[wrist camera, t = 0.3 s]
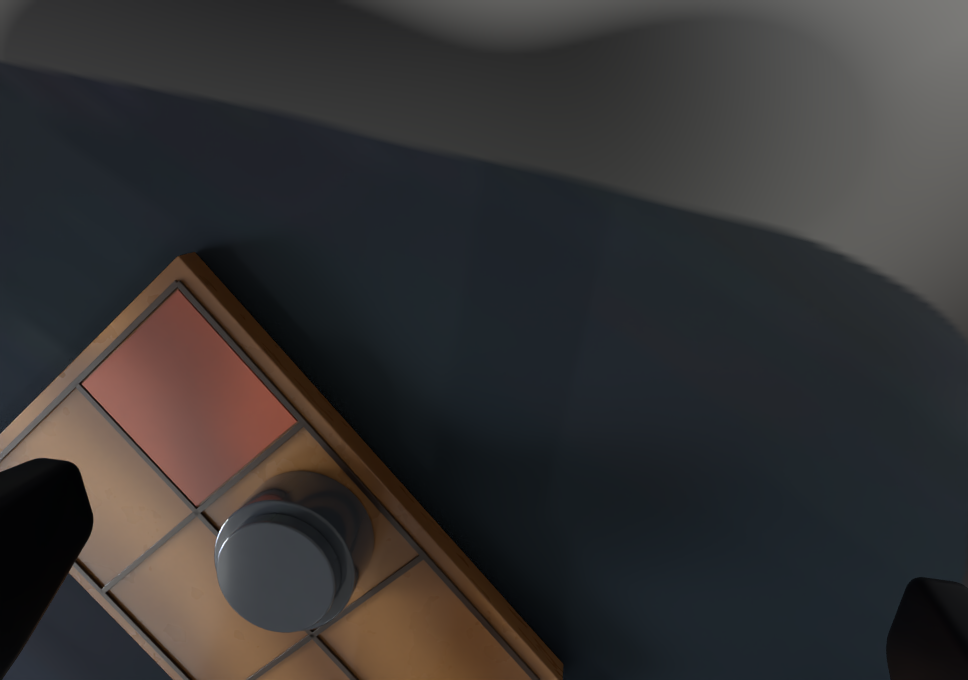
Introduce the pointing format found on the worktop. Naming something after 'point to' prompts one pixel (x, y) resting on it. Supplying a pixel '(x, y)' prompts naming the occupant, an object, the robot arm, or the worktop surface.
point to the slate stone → (294, 552)
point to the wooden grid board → (228, 483)
